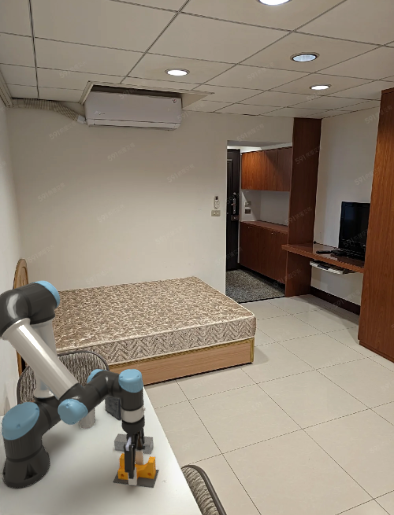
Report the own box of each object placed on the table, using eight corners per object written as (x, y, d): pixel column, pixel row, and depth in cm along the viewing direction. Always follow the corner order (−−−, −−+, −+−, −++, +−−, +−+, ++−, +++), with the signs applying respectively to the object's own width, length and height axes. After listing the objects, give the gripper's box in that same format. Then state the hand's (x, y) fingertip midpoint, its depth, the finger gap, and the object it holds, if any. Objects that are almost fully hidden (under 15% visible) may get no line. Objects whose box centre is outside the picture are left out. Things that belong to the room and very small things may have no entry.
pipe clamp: (118, 478, 119) (117, 462, 118) (122, 468, 124) (121, 452, 122) (152, 483, 118) (151, 466, 116) (155, 472, 122) (155, 456, 120)
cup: (101, 421, 148) (99, 396, 146) (86, 432, 142) (84, 406, 139) (88, 415, 153) (86, 390, 150) (73, 425, 146) (70, 400, 143)
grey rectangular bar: (114, 450, 133) (114, 440, 132) (118, 442, 136) (118, 433, 136) (150, 454, 131) (150, 444, 130) (153, 446, 134) (153, 437, 134)
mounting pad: (113, 482, 118) (113, 481, 118) (120, 466, 125) (120, 465, 125) (153, 487, 116) (153, 486, 116) (158, 470, 123) (158, 469, 123)
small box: (131, 413, 153) (130, 392, 151) (119, 421, 149) (117, 399, 146) (116, 403, 160) (115, 383, 158) (104, 410, 155) (103, 389, 153)
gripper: (134, 438, 105) (137, 501, 110) (152, 399, 124) (154, 454, 129) (110, 435, 106) (115, 498, 111) (131, 397, 126) (135, 452, 130)
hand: (136, 475), depth 120 cm, fingers open, 7 cm apart
